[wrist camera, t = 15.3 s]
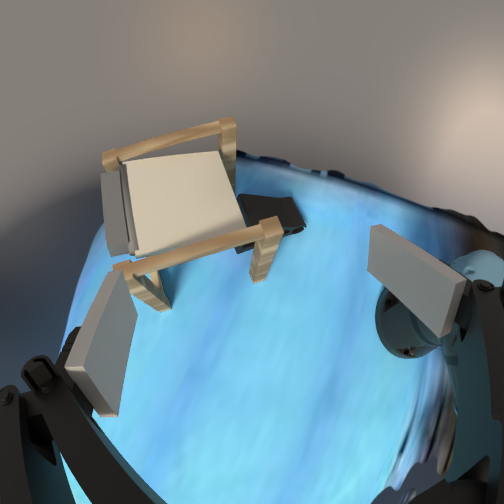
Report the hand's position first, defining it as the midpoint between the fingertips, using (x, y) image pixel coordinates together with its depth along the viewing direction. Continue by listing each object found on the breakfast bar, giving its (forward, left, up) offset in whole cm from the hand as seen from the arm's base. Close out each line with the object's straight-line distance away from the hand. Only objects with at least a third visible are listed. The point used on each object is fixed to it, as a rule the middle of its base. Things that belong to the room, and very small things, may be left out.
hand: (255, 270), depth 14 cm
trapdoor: (+15, +5, -17) cm, 24 cm away
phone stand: (+15, -4, -28) cm, 32 cm away
